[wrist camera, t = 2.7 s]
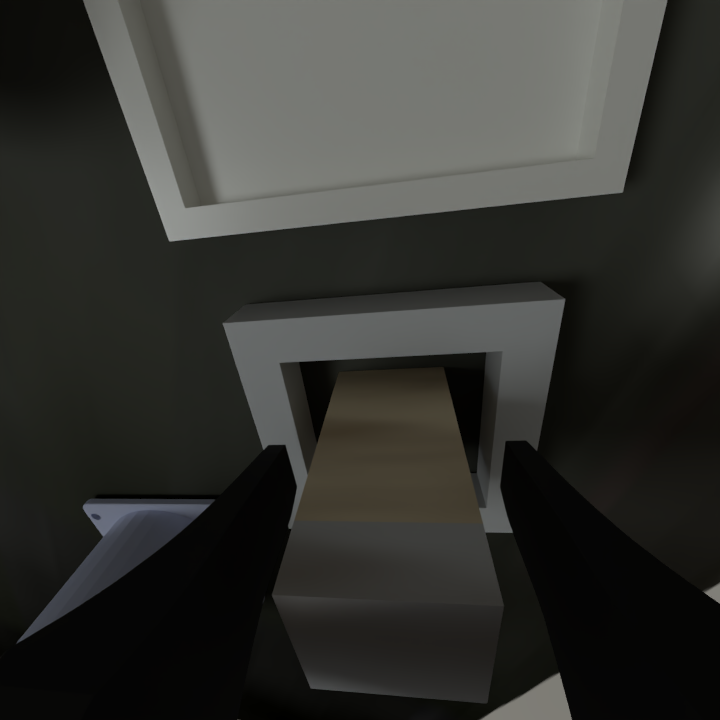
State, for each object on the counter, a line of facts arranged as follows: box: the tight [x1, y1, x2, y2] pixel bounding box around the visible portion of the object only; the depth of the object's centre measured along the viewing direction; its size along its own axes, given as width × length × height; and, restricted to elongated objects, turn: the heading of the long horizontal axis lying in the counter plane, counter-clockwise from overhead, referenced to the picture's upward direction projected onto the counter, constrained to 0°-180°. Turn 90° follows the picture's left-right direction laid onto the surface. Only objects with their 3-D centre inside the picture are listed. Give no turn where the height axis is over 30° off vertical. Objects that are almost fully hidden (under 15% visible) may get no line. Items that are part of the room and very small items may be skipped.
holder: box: [223, 282, 565, 533], centre depth 13 cm, size 10×10×2 cm
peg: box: [272, 367, 504, 703], centre depth 10 cm, size 4×4×8 cm
